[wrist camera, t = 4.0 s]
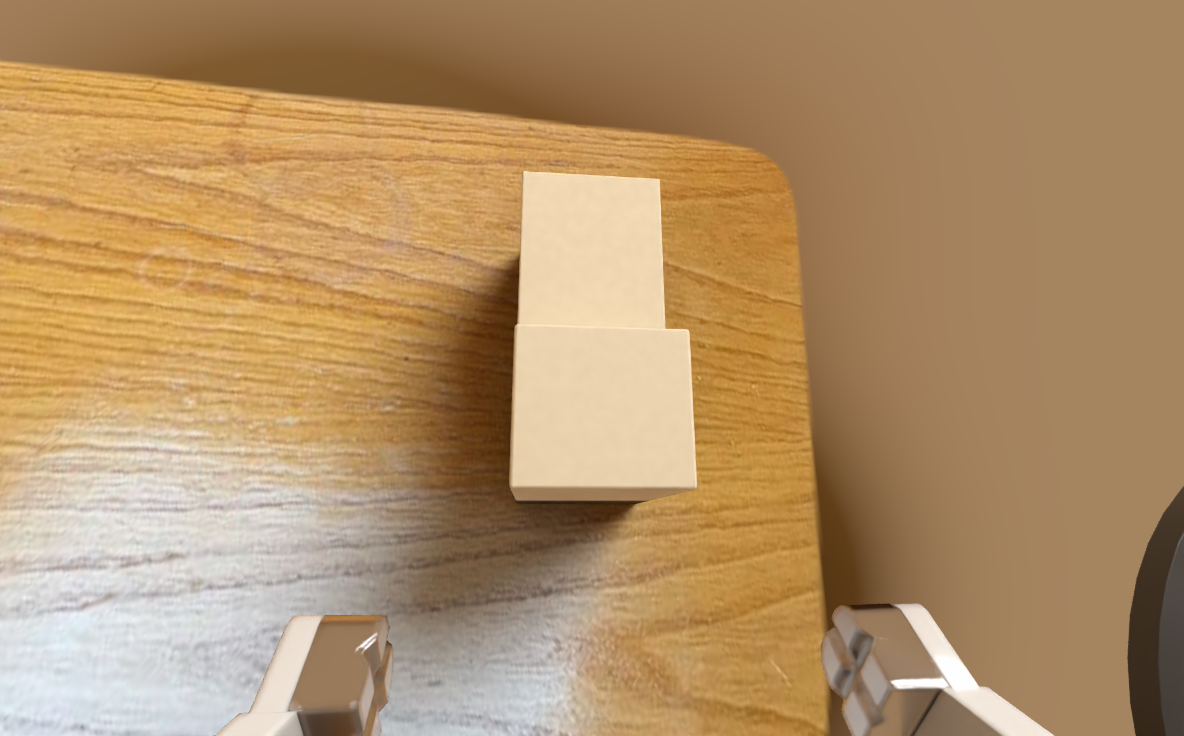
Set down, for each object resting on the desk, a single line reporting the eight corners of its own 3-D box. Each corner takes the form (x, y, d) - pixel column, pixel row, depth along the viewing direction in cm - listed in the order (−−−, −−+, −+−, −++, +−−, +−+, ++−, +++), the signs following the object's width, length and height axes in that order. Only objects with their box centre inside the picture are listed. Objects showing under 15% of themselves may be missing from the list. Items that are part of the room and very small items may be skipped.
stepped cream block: (631, 253, 24) (680, 124, 16) (637, 503, 21) (698, 490, 14) (523, 249, 24) (521, 114, 16) (515, 503, 21) (509, 489, 13)
